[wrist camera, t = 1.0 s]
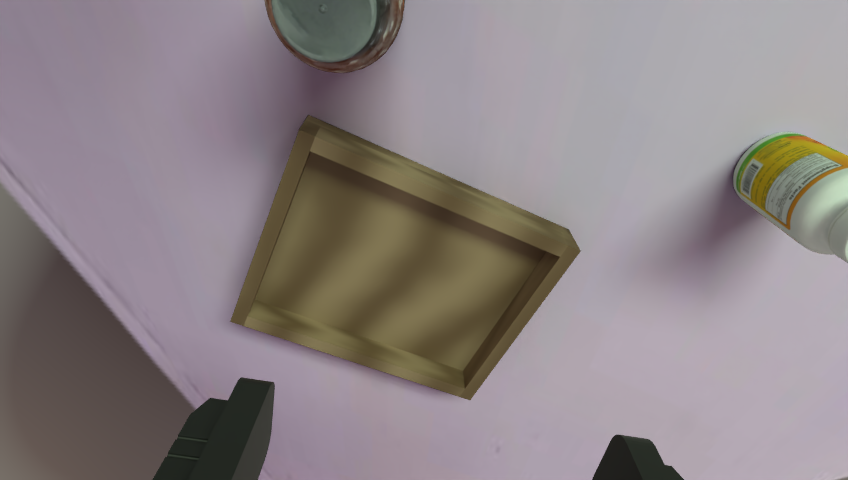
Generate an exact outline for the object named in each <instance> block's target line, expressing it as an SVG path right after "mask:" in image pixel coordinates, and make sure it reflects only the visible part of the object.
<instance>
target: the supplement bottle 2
mask: <svg viewBox="0 0 848 480" xmlns="http://www.w3.org/2000/svg"><path fill="white" fill-rule="evenodd" d="M733 185H734V189H735V191H736V193H737V195H738V196H739V197H740V198H741V199H742V200H743V201H744V202H746V203H747V204H748V205H749V206H751V207H752V208H753V209H755V210H756V211H757V212H759V213H760V214H761V215H763V216H764V217H765V218H767V219H768V220H769V221H771V222H772V223H773V224H774V225H776V226H777V227H778V228H780V229H781V230H782V231H784V232H785V233H786V234H787V235H789V236H790V237H791V238H793V239H794V240H795V241H797V242H798V243H799V244H801V245H802V246H804V247H805V248H807V249H809V250H811V251H813V252H817V253H821V254H830V255H832V254H835V255H836V256H837V257H839V258H841V259H842V260H844V261H845V262H847V263H848V156H847V155H845V154H843V153H841V152H838V151H836V150H834V149H832V148H830V147H828V146H826V145H824V144H822V143H820V142H817V141H815V140H813V139H811V138H809V137H807V136H804V135H801V134H798V133H794V132H782V133H776V134H773V135H770V136H767V137H765V138H763V139H761V140H760V141H758V142H757V143H755V144H754V145H753V146H751V147H750V148H749V149H748V150H747V151H746V152H745V153H744V155H743V156H742V157H741V159H740V160H739V162H738V164H737V166H736V168H735V171H734V176H733Z"/></svg>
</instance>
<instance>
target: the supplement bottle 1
mask: <svg viewBox="0 0 848 480" xmlns="http://www.w3.org/2000/svg"><path fill="white" fill-rule="evenodd" d="M404 3H405V0H265V5H266V10H267V14H268V17H269V20H270V22H271V25H272V27H273V29H274V31H275V32H276V34H277V36H278V38H279V39H280V40H281V42H282V43H283V44H284V46H285V47H286V48H287V49H288V50H289V51H290V52H291V53H292V54H293V55H294V56H295V57H297V58H298V59H300V60H301V61H303V62H304V63H306V64H308V65H309V66H312V67H314V68H317V69H319V70H323V71H327V72H334V73H347V72H352V71H356V70H360V69H363V68H365V67H367V66H369V65H371V64H372V63H374V62H375V61H377V60H378V59H379V58H380V57H382V56H383V55H384V54H385V53H386V52H387V50H388V49H389V47H390V46H391V45H392V44H393V42H394V40H395V38H396V36H397V34H398V31H399V29H400V26H401V23H402V19H403V11H404Z"/></svg>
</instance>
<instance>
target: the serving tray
mask: <svg viewBox="0 0 848 480" xmlns="http://www.w3.org/2000/svg"><path fill="white" fill-rule="evenodd" d="M579 253H580V249H579V247H578V245H577V244H576V242H575V240H574V238H573V236H572V234H571V233H570V231H569V229H566V228H564V227H562V226H559V225H557V224H555V223H553V222H550V221H548V220H546V219H544V218H541V217H539V216H537V215H535V214H532V213H530V212H528V211H525V210H523V209H521V208H519V207H516V206H514V205H512V204H510V203H507V202H505V201H503V200H500V199H498V198H496V197H494V196H491V195H489V194H487V193H485V192H482V191H480V190H478V189H476V188H473V187H471V186H469V185H466V184H464V183H462V182H460V181H457V180H455V179H453V178H451V177H448V176H446V175H444V174H441V173H439V172H437V171H435V170H432V169H430V168H428V167H426V166H423V165H421V164H419V163H416V162H414V161H412V160H410V159H407V158H405V157H403V156H401V155H398V154H396V153H394V152H392V151H389V150H387V149H385V148H382V147H380V146H378V145H376V144H373V143H371V142H369V141H367V140H364V139H362V138H360V137H357V136H355V135H353V134H351V133H348V132H346V131H344V130H342V129H339V128H337V127H335V126H332V125H330V124H328V123H326V122H323V121H321V120H319V119H317V118H314V117H312V116H310V115H308V116H307V118H306V120H305V121H304V123H303V124H302V126H301V127H300V129H299V131H298V134H297V137H296V140H295V142H294V145H293V148H292V151H291V154H290V156H289V159H288V162H287V165H286V168H285V170H284V173H283V176H282V179H281V182H280V184H279V187H278V190H277V193H276V195H275V198H274V201H273V204H272V207H271V209H270V212H269V215H268V218H267V221H266V223H265V226H264V229H263V232H262V235H261V237H260V240H259V243H258V246H257V249H256V251H255V254H254V257H253V260H252V262H251V265H250V268H249V271H248V274H247V276H246V279H245V282H244V285H243V288H242V290H241V293H240V296H239V299H238V302H237V304H236V307H235V310H234V313H233V316H232V318H231V321H230V322H233V323H236V324H239V325H242V326H245V327H248V328H251V329H254V330H257V331H261V332H264V333H267V334H270V335H273V336H276V337H279V338H282V339H285V340H288V341H291V342H294V343H297V344H300V345H303V346H306V347H309V348H312V349H315V350H318V351H321V352H325V353H328V354H331V355H334V356H337V357H340V358H343V359H346V360H349V361H352V362H355V363H358V364H361V365H364V366H367V367H370V368H373V369H376V370H379V371H382V372H385V373H389V374H392V375H395V376H398V377H401V378H404V379H407V380H410V381H413V382H416V383H419V384H422V385H425V386H428V387H431V388H434V389H437V390H440V391H443V392H446V393H449V394H453V395H456V396H459V397H462V398H465V399H468V400H471V398H472V397H473V396H474V394H475V393H476V392H477V390H478V389H479V388H480V386H481V385H482V383H483V382H484V381H485V379H486V378H487V377H488V375H489V374H490V373H491V371H492V370H493V369H494V367H495V366H496V365H497V363H498V362H499V361H500V359H501V358H502V356H503V355H504V354H505V352H506V351H507V350H508V348H509V347H510V346H511V344H512V343H513V342H514V340H515V339H516V338H517V336H518V335H519V334H520V332H521V331H522V329H523V328H524V327H525V325H526V324H527V323H528V321H529V320H530V319H531V317H532V316H533V315H534V313H535V312H536V311H537V309H538V308H539V307H540V305H541V304H542V302H543V301H544V300H545V298H546V297H547V296H548V294H549V293H550V292H551V290H552V289H553V288H554V286H555V285H556V284H557V282H558V281H559V280H560V278H561V277H562V275H563V274H564V273H565V271H566V270H567V269H568V267H569V266H570V265H571V263H572V262H573V261H574V259H575V258H576V257H577V255H578V254H579Z"/></svg>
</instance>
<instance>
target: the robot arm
mask: <svg viewBox="0 0 848 480" xmlns="http://www.w3.org/2000/svg"><path fill="white" fill-rule="evenodd" d="M274 389H275V385H274V382H268V381H262V380H255V379H248V378H240V379H239V380H238V382H237V384H236V386H235V388H234V390H233V392H232V394H231V396H230V398H229V400H228V401H227V400H221V399H214V398H210V399H208V400H207V401H206V402H205V403H204V404H202V405H201V406H200V407H199V408H197V409H196V410H195V411H194V412H193V413H191V415H190V416H189V417H188V419H187V421H186V423H185V424H184V426H183V428H182V430H181V432H180V433H179V435H178V438H177V440H175V442H174V443H173V445H172V447H171V449H170V450H169V452H168V456H167V457H165V459H164V461H163V463H162V464H161V466H160V468H159V469H158V471H157V473H156V475H155V476H154V478H153V480H258V477H259V474H260V472H261V469H262V466H263V463H264V460H265V457H266V454H267V450H268V446H269V442H270V437H271V429H272V416H273V403H274ZM593 480H684V479H683V478H682V477H681V476H680V475H679V474H678V473H677V472H676V470H675V469H674V468H673V467H672V466H667V465H664V463H663V461H662V459H661V457H660V455H659V453H658V451H657V449H656V447H655V445H654V444H653V442H652V441H650V440H649V439H644V438H637V437H631V436H624V435H615V436H614V437H613V438H612V439H611V441H610V443H609V445H608V448H607V450H606V452H605V454H604V456H603V458H602V460H601V462H600V464H599V466H598V468H597V470H596V472H595V474H594V477H593Z"/></svg>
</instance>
